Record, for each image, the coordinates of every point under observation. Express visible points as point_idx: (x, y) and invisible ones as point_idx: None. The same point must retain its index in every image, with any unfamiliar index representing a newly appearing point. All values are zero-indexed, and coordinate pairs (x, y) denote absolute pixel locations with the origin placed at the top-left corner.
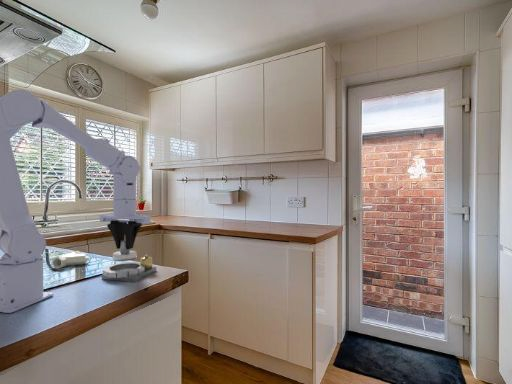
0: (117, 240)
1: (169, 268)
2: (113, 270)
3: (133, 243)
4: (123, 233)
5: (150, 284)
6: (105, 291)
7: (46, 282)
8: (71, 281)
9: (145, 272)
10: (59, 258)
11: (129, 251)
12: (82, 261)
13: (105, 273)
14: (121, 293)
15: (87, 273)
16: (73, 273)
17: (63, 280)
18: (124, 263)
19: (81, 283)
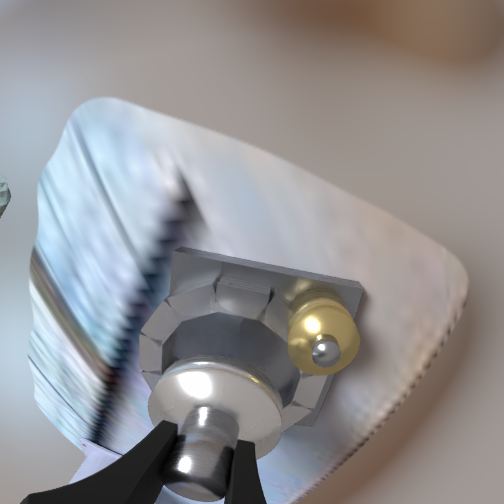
0: (157, 493)
1: (411, 235)
2: (172, 350)
3: (255, 466)
4: (136, 493)
5: (369, 423)
6: None
7: (54, 382)
8: (98, 388)
9: (334, 374)
10: None
11: (237, 431)
12: (1, 211)
13: None
14: (304, 471)
15: (78, 315)
16: (45, 311)
17: (73, 375)
18: (188, 317)
19: (138, 409)
